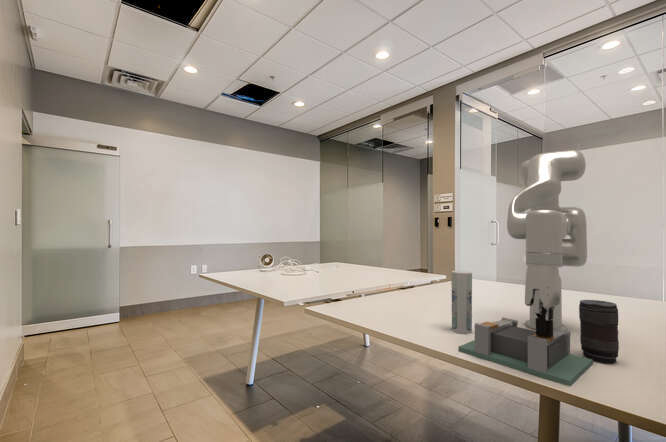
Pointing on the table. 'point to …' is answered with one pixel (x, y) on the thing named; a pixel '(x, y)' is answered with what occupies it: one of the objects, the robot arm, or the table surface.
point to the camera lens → (599, 330)
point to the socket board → (528, 352)
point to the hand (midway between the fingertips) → (544, 335)
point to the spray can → (461, 302)
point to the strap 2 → (553, 337)
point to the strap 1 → (498, 325)
